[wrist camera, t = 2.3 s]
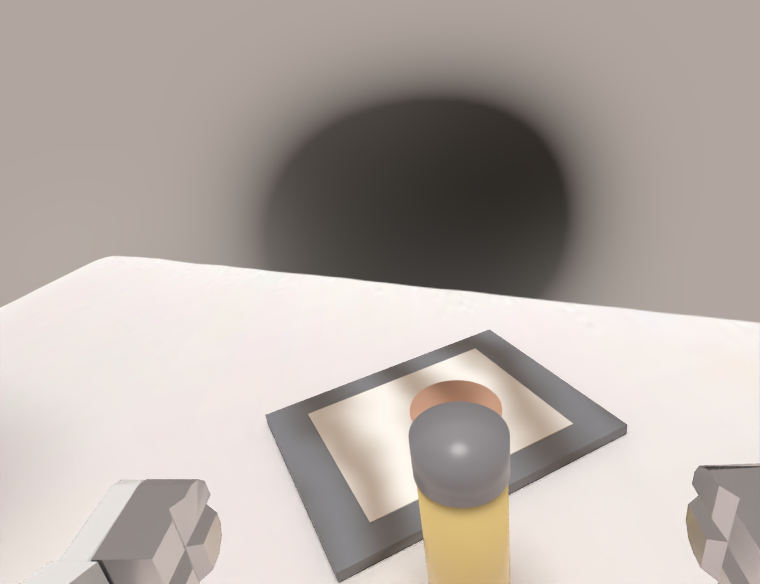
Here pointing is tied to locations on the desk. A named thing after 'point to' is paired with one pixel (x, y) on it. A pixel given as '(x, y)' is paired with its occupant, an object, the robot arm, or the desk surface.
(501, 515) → the marker
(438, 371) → the grey metal tray
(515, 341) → the desk surface
